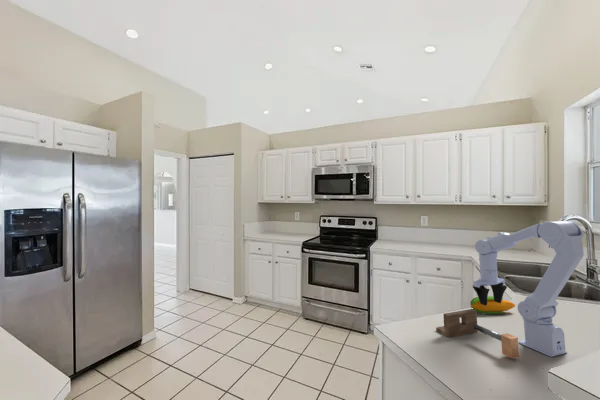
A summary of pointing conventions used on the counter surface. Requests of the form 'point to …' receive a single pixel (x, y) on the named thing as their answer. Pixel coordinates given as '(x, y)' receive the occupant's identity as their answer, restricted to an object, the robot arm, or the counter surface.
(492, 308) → the corn
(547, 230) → the robot arm
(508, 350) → the hook pin
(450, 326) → the slotted wooden block
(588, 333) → the counter surface
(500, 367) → the counter surface
